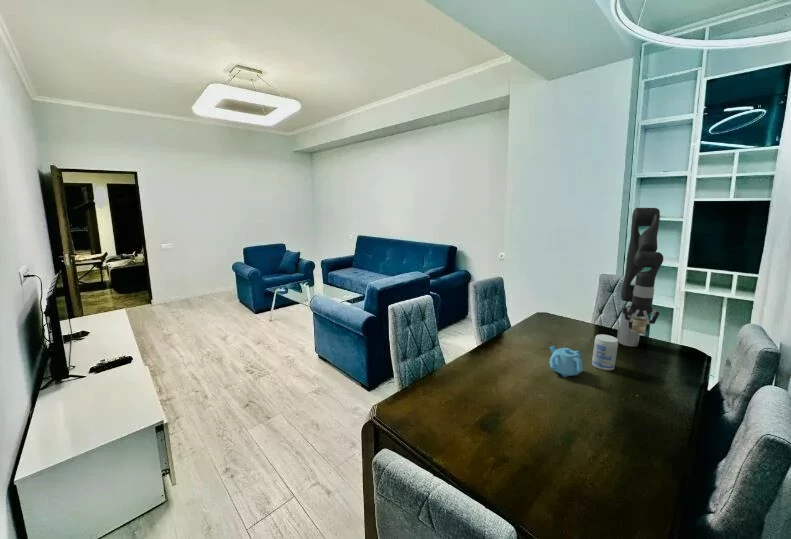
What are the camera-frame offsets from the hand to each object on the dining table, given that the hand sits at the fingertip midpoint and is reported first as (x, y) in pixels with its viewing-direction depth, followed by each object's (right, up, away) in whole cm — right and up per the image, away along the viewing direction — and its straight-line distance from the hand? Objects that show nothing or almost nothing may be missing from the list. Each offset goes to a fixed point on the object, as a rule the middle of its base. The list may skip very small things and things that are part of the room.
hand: (638, 329), depth 161 cm
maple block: (0, -1, 0) cm, 1 cm away
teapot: (-34, -20, +2) cm, 39 cm away
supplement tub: (-13, -19, +6) cm, 24 cm away
